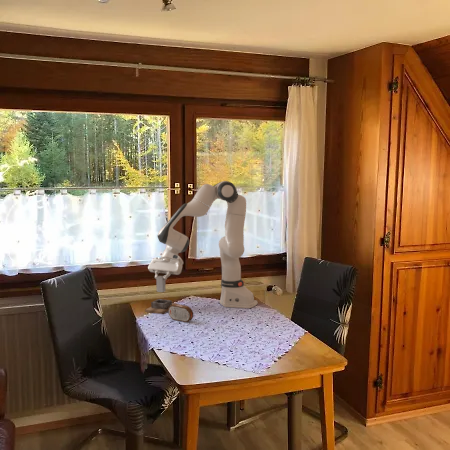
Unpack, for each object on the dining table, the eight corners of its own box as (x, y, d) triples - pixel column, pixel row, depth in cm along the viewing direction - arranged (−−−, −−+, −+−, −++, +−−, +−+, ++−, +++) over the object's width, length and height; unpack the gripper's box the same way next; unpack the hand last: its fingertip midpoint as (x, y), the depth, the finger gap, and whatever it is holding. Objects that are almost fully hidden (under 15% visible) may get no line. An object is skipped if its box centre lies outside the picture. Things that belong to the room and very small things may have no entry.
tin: (193, 322, 255) (193, 306, 254) (190, 323, 252) (189, 308, 251) (171, 317, 263) (170, 302, 262) (167, 319, 260) (167, 303, 259)
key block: (165, 291, 278) (165, 276, 276) (162, 292, 275) (162, 277, 274) (159, 290, 279) (159, 275, 278) (156, 291, 276) (156, 276, 275)
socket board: (177, 305, 284) (177, 298, 283) (162, 314, 268) (162, 306, 268) (161, 303, 288) (161, 296, 288) (145, 311, 273) (145, 304, 272)
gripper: (151, 254, 285) (142, 274, 277) (182, 256, 277) (173, 277, 269) (155, 260, 290) (146, 280, 282) (186, 263, 281) (177, 283, 274)
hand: (160, 278), depth 275 cm, fingers closed on key block, 4 cm apart
